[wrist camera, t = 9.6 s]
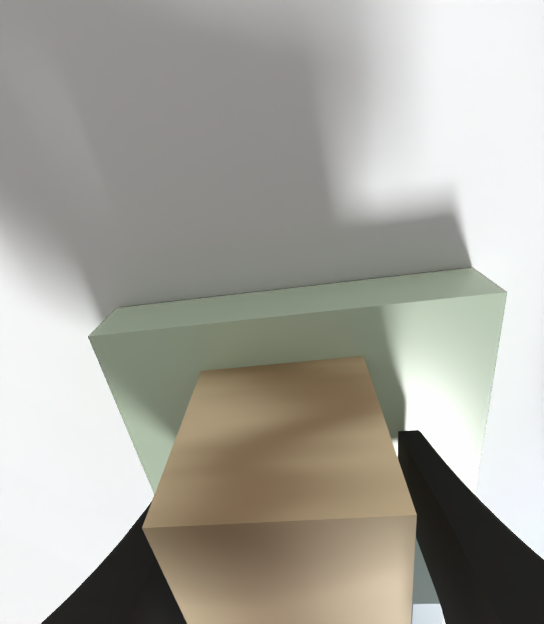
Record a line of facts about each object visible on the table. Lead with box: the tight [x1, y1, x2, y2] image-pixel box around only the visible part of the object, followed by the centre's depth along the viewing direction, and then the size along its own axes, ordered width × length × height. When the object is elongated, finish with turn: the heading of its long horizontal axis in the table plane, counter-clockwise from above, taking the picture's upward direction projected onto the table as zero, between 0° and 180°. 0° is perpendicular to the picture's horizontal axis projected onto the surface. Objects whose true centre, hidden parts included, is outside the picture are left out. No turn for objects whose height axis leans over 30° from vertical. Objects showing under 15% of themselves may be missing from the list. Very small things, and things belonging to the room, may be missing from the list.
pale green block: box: [88, 267, 507, 624], centre depth 16 cm, size 12×27×4 cm, turn 8°
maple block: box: [142, 356, 417, 624], centre depth 10 cm, size 5×5×5 cm
